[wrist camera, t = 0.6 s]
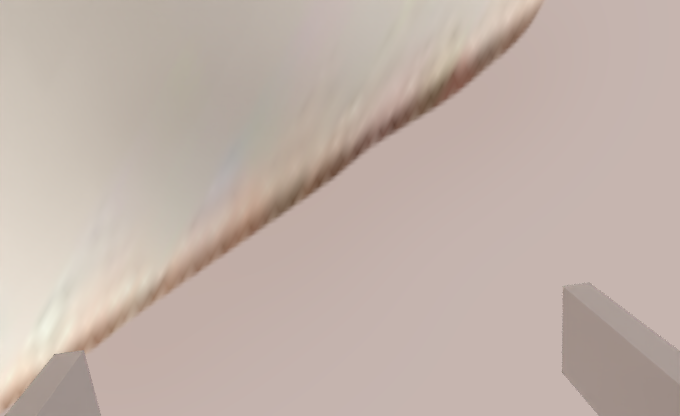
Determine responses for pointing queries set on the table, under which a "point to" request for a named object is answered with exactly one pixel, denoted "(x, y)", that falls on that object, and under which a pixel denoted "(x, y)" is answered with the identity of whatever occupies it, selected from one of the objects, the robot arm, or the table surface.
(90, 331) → the table surface
